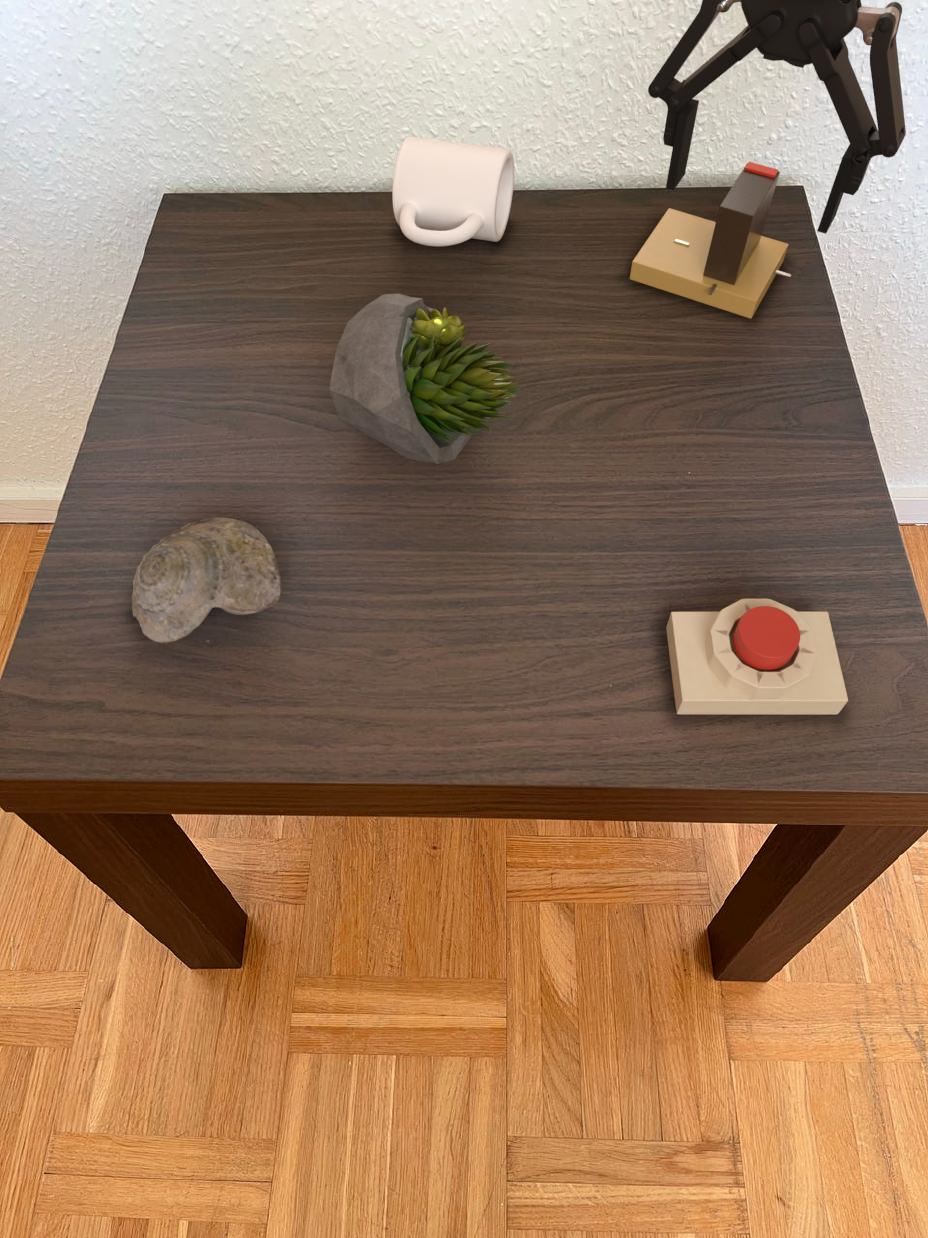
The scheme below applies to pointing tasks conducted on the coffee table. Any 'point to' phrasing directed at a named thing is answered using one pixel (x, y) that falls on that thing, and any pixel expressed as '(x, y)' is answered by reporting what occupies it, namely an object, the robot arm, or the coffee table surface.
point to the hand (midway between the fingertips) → (748, 202)
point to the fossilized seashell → (203, 577)
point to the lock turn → (740, 222)
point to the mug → (451, 191)
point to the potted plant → (416, 379)
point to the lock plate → (681, 260)
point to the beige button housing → (731, 686)
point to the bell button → (766, 638)
